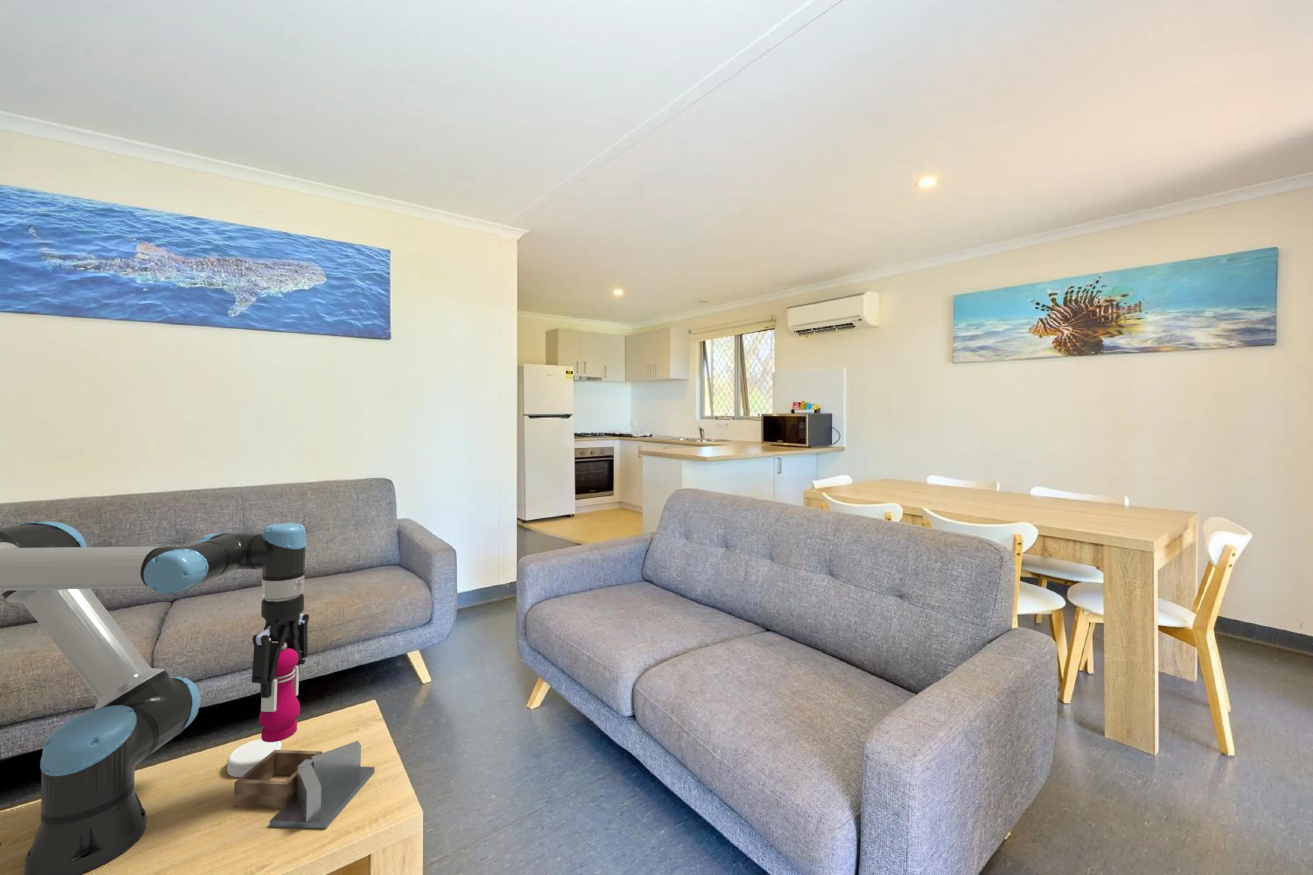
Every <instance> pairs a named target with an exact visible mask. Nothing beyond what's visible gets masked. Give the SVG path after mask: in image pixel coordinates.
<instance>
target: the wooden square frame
mask: <svg viewBox="0 0 1313 875" xmlns="http://www.w3.org/2000/svg"><path fill="white" fill-rule="evenodd" d="M322 753H323V751H321V750H319V751H317V750H296V749H295V750H291V749H290V750H288V749H282V750H274V751H273V752H271V753H270V754H269V755H268V756H266V757H265V758H264V759H263V760H261V761H260V762H259V763H258V764H257V765H255V766H254V767H253V768H252V769H250V770H249V771H248V772H247V773H245V774H244V775H243V776H242V777H238V779H236V781H235V782H234V785H233V786H234V791H233V793H234V794H233V798H234V800H233V807H239V808H241V807H244V808H263V809H264V808H269V809H282V808H283V807H284V806H285V805H286V804H287V803H288V802H289V801H290V800H291V799H292V798H293V797H294V796H295V795H297V771H298V766H299V765H300V764H301V763H302V762H303V761H304V760H305V759H308V760H311V757H313V756H316V755H319V754H322ZM278 775H279V776H289V777H288V779H286V780H275V779H274V780H271V779H272V778H273V777H274V776H278Z"/></svg>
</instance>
